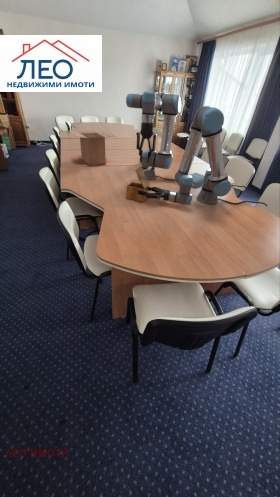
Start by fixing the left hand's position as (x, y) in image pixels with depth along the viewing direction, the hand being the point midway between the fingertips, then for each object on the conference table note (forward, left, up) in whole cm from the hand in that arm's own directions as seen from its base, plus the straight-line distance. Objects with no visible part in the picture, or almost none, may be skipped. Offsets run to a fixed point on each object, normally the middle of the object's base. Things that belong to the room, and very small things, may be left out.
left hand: (144, 161), depth 150 cm
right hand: (+1, -1, -21) cm, 21 cm away
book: (-52, -36, -27) cm, 69 cm away
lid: (+1, -1, -11) cm, 12 cm away
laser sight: (-18, -92, -27) cm, 98 cm away
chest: (+4, -2, -27) cm, 28 cm away
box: (+42, -95, -27) cm, 108 cm away
